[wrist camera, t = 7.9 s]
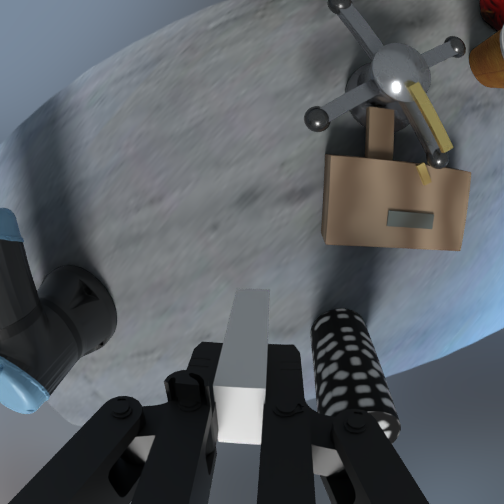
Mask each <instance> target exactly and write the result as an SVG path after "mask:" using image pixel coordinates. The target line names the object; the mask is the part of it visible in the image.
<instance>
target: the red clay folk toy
mask: <svg viewBox="0 0 504 504" xmlns="http://www.w3.org/2000/svg"><path fill="white" fill-rule="evenodd" d="M480 9H481V16H482V17H483V19H484V21H485V22H487V23H489V24H490V25H491V26H492V27H493V28H495V29H496V30H498V31H499V30H501V29H502V27H503V25H504V0H480Z"/></svg>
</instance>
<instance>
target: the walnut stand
mask: <svg viewBox="0 0 504 504" xmlns="http://www.w3.org/2000/svg"><path fill="white" fill-rule="evenodd" d="M393 143H394V110H392V109H384V108H377V107H367V108H366V141H365V157H358V156H346V155H332V154H325V172H324V193H323V211H322V226H321V234H322V236H323V239H324V242H325V244H326V245H347V246H369V247H390V248H410V249H430V250H449V251H460V250H461V245H462V239H463V233H464V227H465V221H466V214H467V207H468V199H469V190H470V180H471V172H467V171H463V170H459V169H454V168H448V167H444V168H443V169H435V168H433V167H431V166H430V165H428V164H425V163H423V162H422V163H414V162H406V161H397V160H393Z"/></svg>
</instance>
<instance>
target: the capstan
mask: <svg viewBox="0 0 504 504" xmlns="http://www.w3.org/2000/svg"><path fill="white" fill-rule="evenodd" d="M327 3H328V7H329V9H330V10H331V11H332V12H333V13H335V14H337V15H338V16H339V18H340V19H341V20H342V21H343V23H344V24H345V25H346V26H347V28H348V29H349V30H350V32H351V33H352V34H353V36H354V37H355V38H356V40H357V41H358V42H359V44H360V45H361V46H362V48H363V49H364V51H365V52H366V53H367V55H368V56H369V58H370V59H371V60H372V63H368V64H365V65H363V66H362V67H360V68H359V69H357V70H356V71H355V72H354V73H353V74H352V76H351V77H350V79H349V81H348V83H347V86H346V93H345V94H343V95H342V96H340V97H338V98H336V99H335V100H333V101H331V102H329V103H328V104H326V105H324V106H322V107H319V106H315V107H311V108H310V109H308V110H307V111H306V113H305V116H304V122H305V124H306V126H307V127H308V128H309V129H310V130H312V131H314V132H322V131H324V130H326V129H327V128H328V127H329V125H330V122H331V120H333V119H335V118H337V117H338V116H340V115H342V114H344V113H345V112H347V111H350V112H351V114H352V116H353V117H354V118H355V119H356V121H357V122H358V123H360V124H361V125H362V126H363V127H365V128H366V108H367V107H377V108H384V109H392V110H394V132H397V131H399V130H401V129H403V128H405V127H406V126H407V125H408V124H409V123H410V124H411V126H412V127H413V129H414V131H415V133H416V135H417V137H418V139H419V141H420V143H421V145H422V147H423V148H424V150H425V152H426V159H427V162H428V164H429V165H430V166H431V167H433V168H435V169H443V168H444V167H446V166H447V164H448V162H449V154H448V152H447V151H449V150H450V149H452V148H453V146H452V143H451V141H450V139H449V137H448V135H447V133H446V131H445V129H444V127H443V125H442V123H441V121H440V119H439V117H438V115H437V113H436V111H435V110H434V108H433V106H432V104H431V102H430V100H429V99H428V97H427V95H426V93H427V91H428V89H429V87H430V83H431V74H430V70H429V67H431V66H433V65H435V64H437V63H439V62H441V61H443V60H445V59H448V58H450V57H455V58H459V57H462V56H463V55H464V54H465V51H466V47H465V44H464V42H463V41H462V40H461V39H460V38H458V37H455V36H450V37H448V38H446V40H445V42H444V44H442V45H440V46H438V47H435V48H433V49H431V50H429V51H427V52H425V53H423V54H420V53H419V52H418V51H416V50H415V49H414V48H412V47H410V46H408V45H405V44H402V43H390V44H387V45H385V46H384V45H383V44H382V42H381V41H380V39H379V38H378V37H377V35H376V34H375V33H374V31H373V30H372V29H371V27H370V26H369V25H368V23H367V22H366V21H365V19H364V18H363V17H362V16H361V14H360V13H359V12H358V11H357V9H356V8H355V7H354V6H353V4H352V1H351V0H328V2H327Z"/></svg>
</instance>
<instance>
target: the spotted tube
mask: <svg viewBox="0 0 504 504" xmlns="http://www.w3.org/2000/svg"><path fill="white" fill-rule="evenodd" d="M310 335H311V346H312V356H313V366H314V377H315V389H316V400H317V412H318V413H321V414H324V415H328V416H333V417H336V416H337V415H338V414H339V413H340V412H342V411H344V410H347V409H360V410H364V411H366V412H368V413H370V414H371V415H372V416H373V417H374V418H375V419H376V420H377V422H378V423H379V425H380V427H381V428H382V430H383V431H384V433H385V434H386V436H387V438H388V439H389V441H390V442H391V444H392V443H393V442H394V441H395V440H396V439H397V437H398V435H399V433H400V430H401V426H400V421H399V418H398V415H397V412H396V409H395V406H394V403H393V400H392V397H391V394H390V391H389V388H388V385H387V382H386V379H385V377H384V374H383V371H382V368H381V365H380V362H379V360H378V357H377V354H376V351H375V349H374V346H373V343H372V341H371V338H370V335H369V333H368V330H367V328H366V325H365V323H364V320H363V319H362V317H361V316H360V315H359V314H357V313H356V312H354V311H352V310H349V309H334V310H331V311H328V312H326V313H324V314H323V315H321V316H320V317H319V318H318V319H317V320H316V321H315V323H314V324H313V326H312V329H311V334H310Z"/></svg>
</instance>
